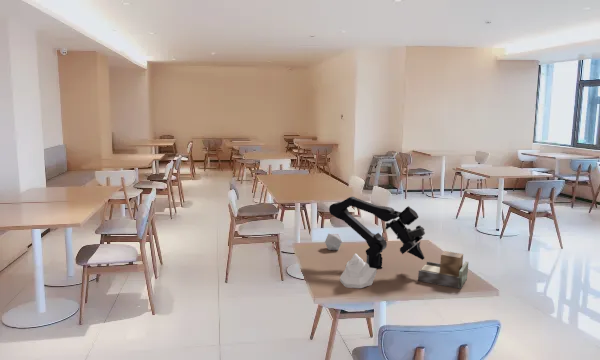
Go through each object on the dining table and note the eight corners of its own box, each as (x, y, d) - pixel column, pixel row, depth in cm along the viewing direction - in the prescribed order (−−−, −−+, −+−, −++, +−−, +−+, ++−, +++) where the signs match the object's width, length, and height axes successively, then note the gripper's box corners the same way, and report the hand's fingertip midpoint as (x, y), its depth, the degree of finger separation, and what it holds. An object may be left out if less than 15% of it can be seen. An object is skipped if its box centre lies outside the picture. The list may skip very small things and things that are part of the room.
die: (336, 254, 249) (346, 237, 251) (321, 244, 250) (331, 228, 252) (334, 255, 258) (344, 239, 260) (320, 245, 259) (330, 230, 261)
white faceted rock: (373, 294, 198) (371, 263, 193) (337, 292, 202) (334, 262, 197) (377, 277, 209) (375, 248, 204) (342, 275, 213) (339, 247, 208)
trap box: (418, 280, 211) (419, 264, 210) (426, 270, 225) (427, 255, 224) (460, 288, 203) (462, 271, 202) (467, 278, 217) (468, 261, 216)
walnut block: (439, 272, 211) (441, 254, 210) (443, 268, 217) (444, 250, 216) (458, 276, 207) (460, 257, 206) (461, 271, 213) (463, 254, 212)
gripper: (409, 224, 209) (432, 253, 205) (419, 217, 225) (442, 244, 222) (390, 239, 214) (413, 268, 210) (401, 231, 230) (423, 257, 227)
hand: (423, 259), depth 217 cm, fingers closed
